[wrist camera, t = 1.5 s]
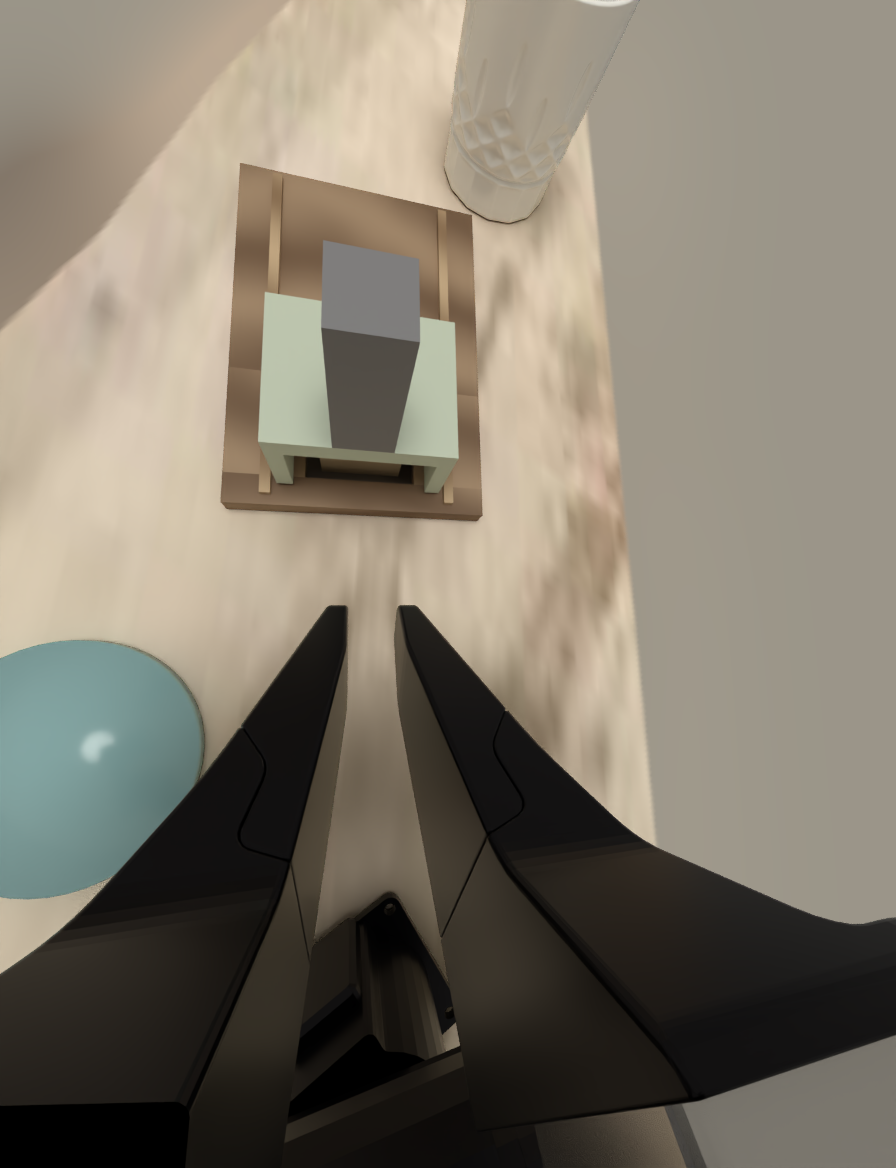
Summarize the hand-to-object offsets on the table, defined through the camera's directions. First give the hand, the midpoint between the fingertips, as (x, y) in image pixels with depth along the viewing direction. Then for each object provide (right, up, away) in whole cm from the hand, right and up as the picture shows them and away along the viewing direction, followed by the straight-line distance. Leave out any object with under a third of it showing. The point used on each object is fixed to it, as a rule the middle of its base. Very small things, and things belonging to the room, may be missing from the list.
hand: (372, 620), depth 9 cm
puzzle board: (-3, +14, +14) cm, 20 cm away
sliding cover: (-3, +9, +12) cm, 15 cm away
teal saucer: (-14, -7, +9) cm, 18 cm away
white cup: (+5, +28, +19) cm, 33 cm away
